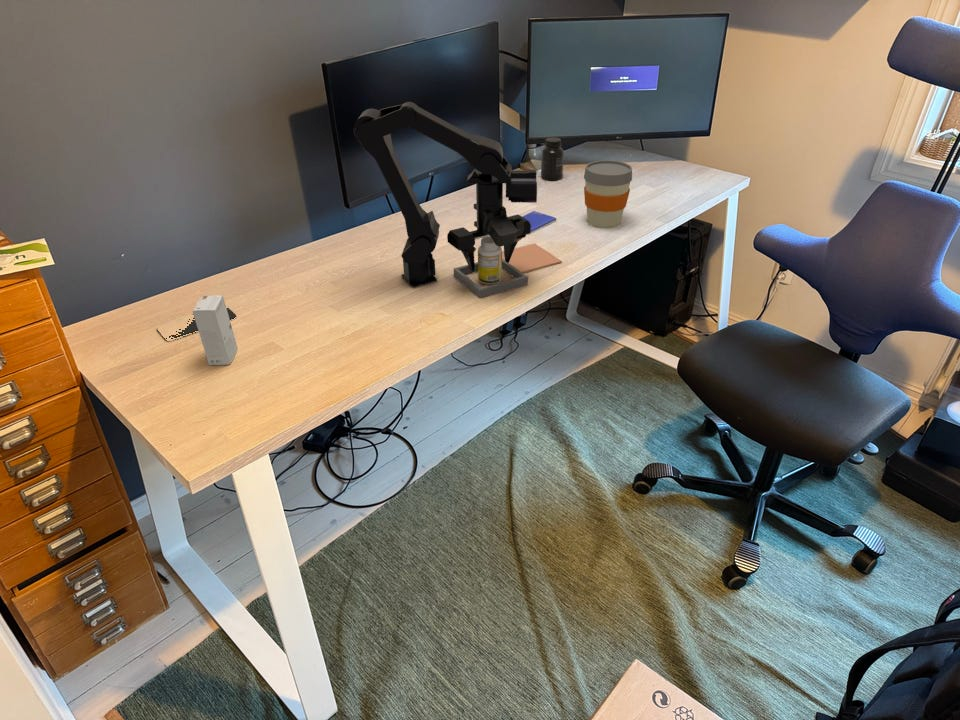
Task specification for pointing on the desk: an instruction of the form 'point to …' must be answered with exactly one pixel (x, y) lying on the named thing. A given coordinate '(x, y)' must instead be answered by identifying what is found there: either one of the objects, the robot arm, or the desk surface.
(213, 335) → the skincare box
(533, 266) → the pad
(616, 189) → the reusable coffee cup
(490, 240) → the supplement bottle
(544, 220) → the hard drive
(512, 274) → the square frame
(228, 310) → the dark flat slab
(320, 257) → the desk surface
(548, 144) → the supplement bottle
